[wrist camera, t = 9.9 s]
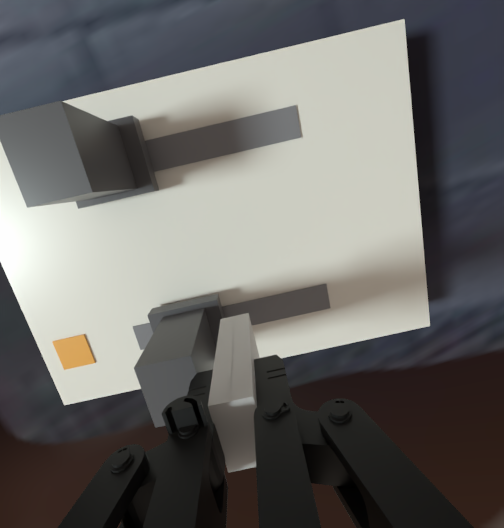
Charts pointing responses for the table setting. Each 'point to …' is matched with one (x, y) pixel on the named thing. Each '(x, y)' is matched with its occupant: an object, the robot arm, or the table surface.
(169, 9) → the table surface
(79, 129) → the block
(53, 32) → the table surface
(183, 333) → the block
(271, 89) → the panel
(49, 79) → the table surface
